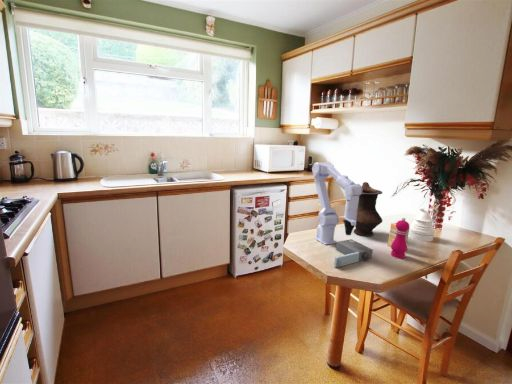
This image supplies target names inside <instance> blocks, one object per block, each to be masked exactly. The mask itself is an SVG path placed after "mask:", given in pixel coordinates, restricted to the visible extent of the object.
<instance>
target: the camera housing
mask: <svg viewBox="0 0 512 384" xmlns="http://www.w3.org/2000/svg"><path fill="white" fill-rule="evenodd" d="M336 242H337V243H336V247H335V250H336V251H337V252H338V253H341V254H342V255H347V254H351V253H356V252H358V253H359V259H358V262H361V261H365V260H368V259H372V257H373V249H372V248H371V247H369V246H366V245H364V244H363V243H360V242H358V241H356V240H354V239H345V240H344V239H343V240H340V241H339V240H338V241H336Z"/></svg>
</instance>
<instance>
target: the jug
mask: <svg viewBox="0 0 512 384" xmlns="http://www.w3.org/2000/svg"><path fill="white" fill-rule="evenodd" d="M361 187H362V194H361V195H360V196H359V201H358V208H357V216H356V218H357V220H356V226H355V227H354V228H355V229H353V233H354V234H355V235H357V236H363V237H370V236H373V235H374V231H373V230H374V229H375V228H377V227H378V226H379V225H380V224H382V223H383V219H382V217H381V215H380V214H379V212H378V211H377V209H376V206H377V199H378V197H379V195H382V194H383V191H382V190H379V189H375V188H373V187H372V186H370V184H369V182H367V181H365V182H363V183H362V185H361Z"/></svg>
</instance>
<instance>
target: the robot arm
mask: <svg viewBox="0 0 512 384" xmlns="http://www.w3.org/2000/svg"><path fill="white" fill-rule="evenodd" d="M311 170H312V171H311V172H312V176H313V179H314V184H315V189H316V193H317V196H318V200H319V204H320V211H319V212H318V214H317V215H318V226H317V227H316V236H315V238H314V239H315V240H316V241H318V242H320V243H322V244H323V245H333V244H337V242H338V241H336V240H335V239H334V238H335V229H336V227H337V225H338V224H339V222H340V217H339V215H338V214H337V211H336V210H335V209H334V208H333V207H332V205H331V200H330V196H329V192H328V189H327V188H328V187H327V184H326V179H328V178H329V176H331V177H332V178H333V179H334V180H336V183H337V185H338V187H340V188H341V189H343V190H344V194H345V206H344V213H343V214H344V215H342V216H341V219H343V220H342V222H343V224H344V225H343V226H344V230H345V231H344V232H345V235H346V236H351V235H352V233H353V231H354V228H356V227H355V226H356V220H357V218H356V216H357V208H358V201H359V196H360V195H361V194H362V185H361V184H360V183H355V182H354V181H352V180H351V179H350V178H349V176H348V175H345V174H343V175H342V174H341V173H340V172H339V171H338V169H336V168H335V166H334V164H333V163H332V162H330V161H328V162H314V164H313V165H312V168H311Z"/></svg>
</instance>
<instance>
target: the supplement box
mask: <svg viewBox="0 0 512 384" xmlns="http://www.w3.org/2000/svg"><path fill="white" fill-rule="evenodd" d="M396 223H397V222H391V224H390V229H389V234H388V241H387V247H390V248H391V245H392V242H393V241H394V240H395V238H396V234H397V233H396V229H397V228H396ZM409 230H410V228H409V229H408V230H407V234H406V237H405V240H406V244H407V245H408V238H409Z"/></svg>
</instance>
